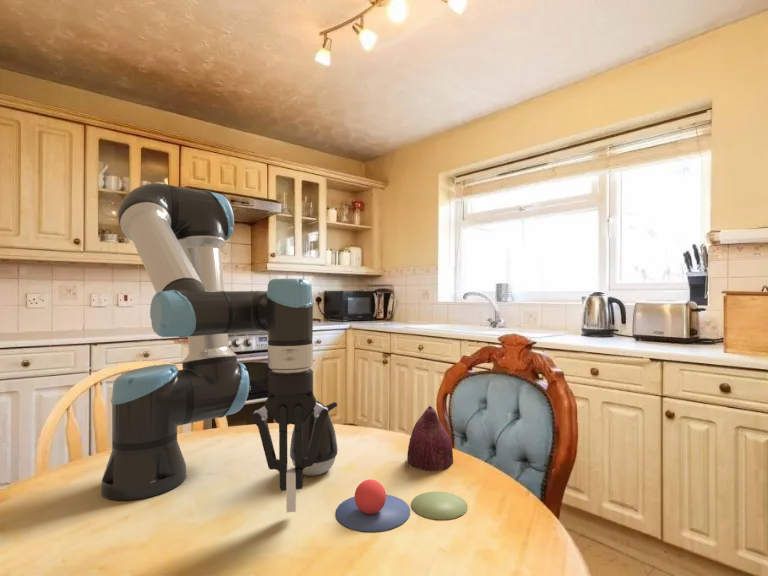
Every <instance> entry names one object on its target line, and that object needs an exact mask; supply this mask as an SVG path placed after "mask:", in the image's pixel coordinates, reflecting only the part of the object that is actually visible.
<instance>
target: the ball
mask: <svg viewBox="0 0 768 576" xmlns="http://www.w3.org/2000/svg"><path fill="white" fill-rule="evenodd" d="M354 496H355V503H356V506H357V507H358V509H359V510H360V511H361V512H363V513H365V514H375V513H377V512H379V511H380V510H381V509H382V508H383V506H384V504H385V501H386V490H385V488H384V485H382V483H381V482H380V481H378V480H376V479H370V478H369V479H366V480H363V481H362V482H360V483H359V485H357V487H356V490H355V491H354Z"/></svg>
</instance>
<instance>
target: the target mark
mask: <svg viewBox="0 0 768 576" xmlns="http://www.w3.org/2000/svg"><path fill="white" fill-rule="evenodd" d="M410 516H411V508H410V506H409V504H408V503H407V502H406V501H405V500H403V499H401V498H399V497H397V496H394V495H391V494H386V501H385V504H384V506H383V508H382V509H381V510H380V511H379V512H377V513H375V514H365V513H363V512H361V511H360V510H359V509H358V507H357V506H356V503H355V495H353V496H352V497H349V498H347V499H345V500H343V501H342V502H341V503H340V504H338V506H337V508H336V510H335V517H336V520H337V521H338V522H339V523H340V524H341V525H343V526H344V527H346V528H348V529H350V530H354V531H359V532H365V533H376V532H377V533H378V532H386V531H390V530H394V529H395V528H398V527H400V526H402V525H403V524H405V523H406V522H407V521H408V520H409V519H410Z"/></svg>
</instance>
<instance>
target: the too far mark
mask: <svg viewBox="0 0 768 576" xmlns="http://www.w3.org/2000/svg"><path fill="white" fill-rule="evenodd" d="M410 503H411V508H412V510H413V511H414V512H415V513H416V514H418V515H419V516H421V517H424V518H426V519H431V520H439V521H442V520H443V521H446V520H447V521H448V520H454V519H457V518H460V517H462V516H463V515H465V513H467V511H468V503H467V502H466V500H465V499H464V498H462V497H461V496H458V495H456V494H454V493H452V492H451V493H450V492H446V491H427V492H423V493H420V494H417V495H416V496H415V497H413V498H412V500H411V502H410Z"/></svg>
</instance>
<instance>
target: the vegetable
mask: <svg viewBox="0 0 768 576" xmlns="http://www.w3.org/2000/svg"><path fill="white" fill-rule="evenodd" d="M436 411H437V410H436V409H435V408H434V407H432V406H431V405H428V407H427V408H426V409H425V410H424V412H423V413H422V415H420V417H419V418H418V420H416V422H415V424H414V427H413V429H412V431H411V435H410V438H409V443H408V448H407V455H406V456H407V458H406V461H407V464H408V466H409V467H412V468H414V469H418V470H422V471H425V472H427V471H428V472H436V471H438V472H439V471H442V470H446V469H449V468H450V467H451V466H452V465H453V464H454V454H453V452H454V451H453V445H452V441H451V437H450V436H449V434H448V432H447V430H446V427H444V425H443V423H442V422H441V421H440V419H439V417H438V413H437V412H436Z"/></svg>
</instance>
